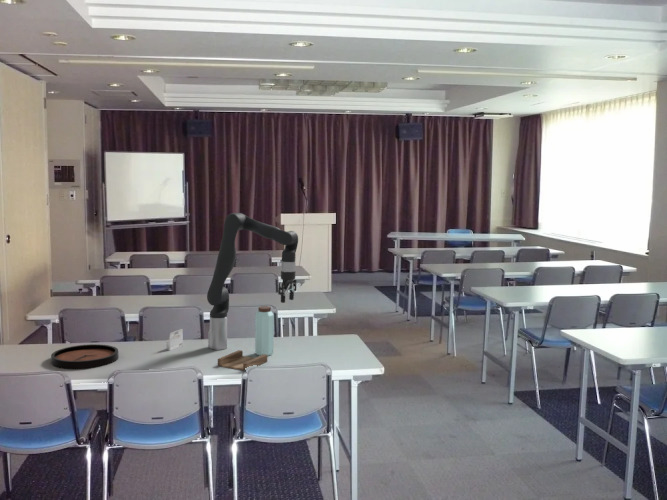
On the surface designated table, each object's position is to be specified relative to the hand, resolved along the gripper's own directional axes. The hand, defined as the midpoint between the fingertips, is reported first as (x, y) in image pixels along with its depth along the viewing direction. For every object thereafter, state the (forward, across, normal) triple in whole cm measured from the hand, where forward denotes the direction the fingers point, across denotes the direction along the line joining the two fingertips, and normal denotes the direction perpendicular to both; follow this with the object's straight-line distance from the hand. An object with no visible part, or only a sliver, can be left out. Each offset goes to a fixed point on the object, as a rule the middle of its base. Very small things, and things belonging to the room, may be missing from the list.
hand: (287, 301), depth 321 cm
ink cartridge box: (+31, +16, -60) cm, 70 cm away
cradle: (+30, +21, -12) cm, 38 cm away
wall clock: (+32, +55, -84) cm, 105 cm away
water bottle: (+30, +1, -12) cm, 32 cm away
